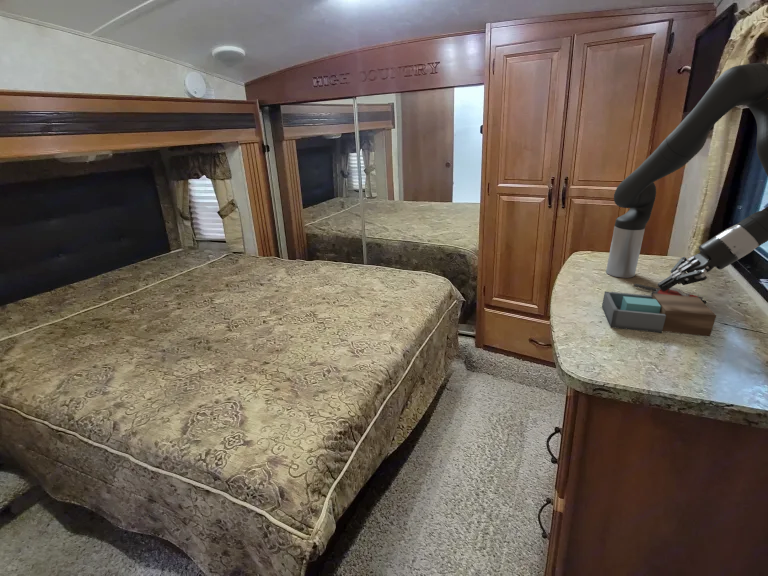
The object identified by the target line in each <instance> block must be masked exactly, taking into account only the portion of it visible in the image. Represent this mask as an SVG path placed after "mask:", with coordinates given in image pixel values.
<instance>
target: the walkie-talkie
mask: <svg viewBox="0 0 768 576" xmlns="http://www.w3.org/2000/svg"><path fill="white" fill-rule="evenodd" d="M633 286H634V288H640V289H645V290H647V291H652V292H651V294H650V295H651V296H652V295H653V293H654V294H665V295H677V296H689V297H699V298H700V299H701V300H702V301H703V302H704V303H705V304H706V305H707V301H706V300H704V297H703V296H699V295H694V294H691V292H690V291H687V292H683V291H682V290H681V289H680V288H676V287H674V286H673V287H671V288H669V289H668V290H666V291H662V290H661V289H660V288H659V287H658V288H657V287H652V286H648V285H643V284H639V283H634V284H633Z"/></svg>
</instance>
